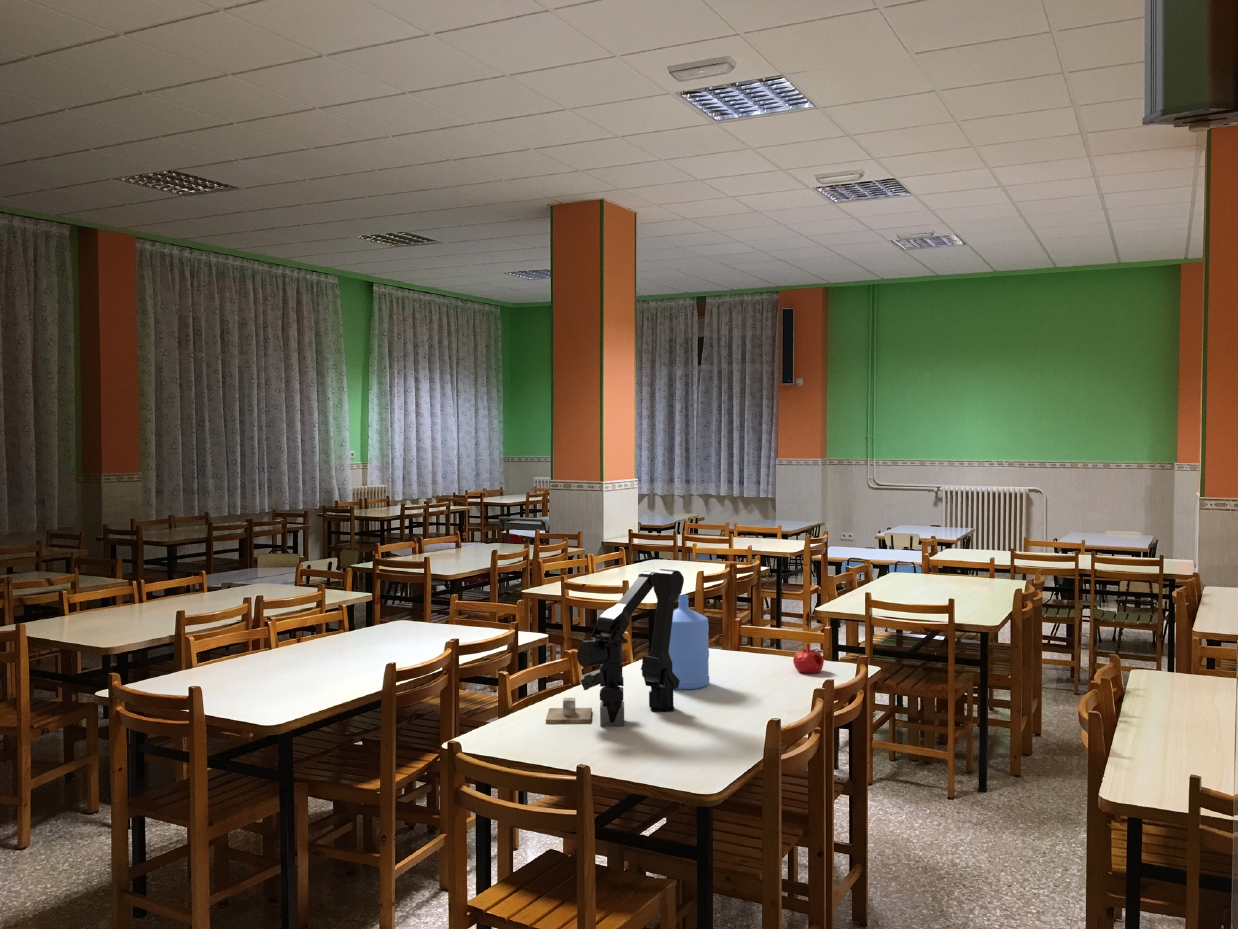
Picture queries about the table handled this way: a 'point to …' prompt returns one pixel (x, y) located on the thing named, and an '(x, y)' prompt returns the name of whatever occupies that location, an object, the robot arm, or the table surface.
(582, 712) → the post block
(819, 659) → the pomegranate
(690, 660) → the water jug
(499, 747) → the table surface
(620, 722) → the grey cube shelf
